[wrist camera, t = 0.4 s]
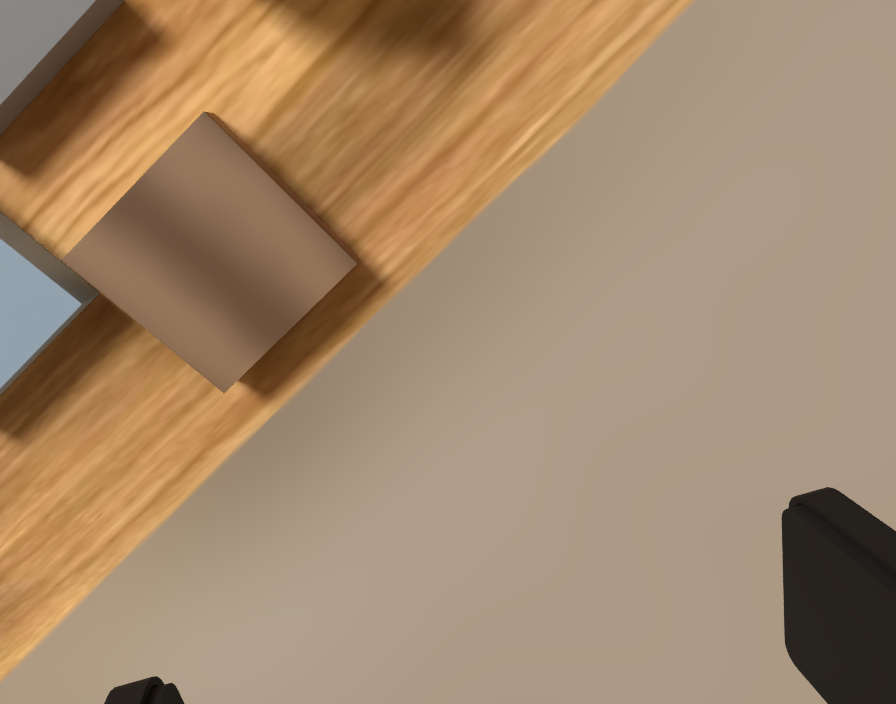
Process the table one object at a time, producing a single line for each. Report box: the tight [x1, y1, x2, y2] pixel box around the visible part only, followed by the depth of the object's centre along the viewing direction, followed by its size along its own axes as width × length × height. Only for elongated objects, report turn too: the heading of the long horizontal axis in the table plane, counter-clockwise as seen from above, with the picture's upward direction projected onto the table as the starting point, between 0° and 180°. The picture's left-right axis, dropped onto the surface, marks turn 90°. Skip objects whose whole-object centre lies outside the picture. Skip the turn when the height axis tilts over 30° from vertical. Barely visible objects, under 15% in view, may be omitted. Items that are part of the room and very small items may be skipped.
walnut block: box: [62, 112, 357, 393], centre depth 34 cm, size 10×10×3 cm
